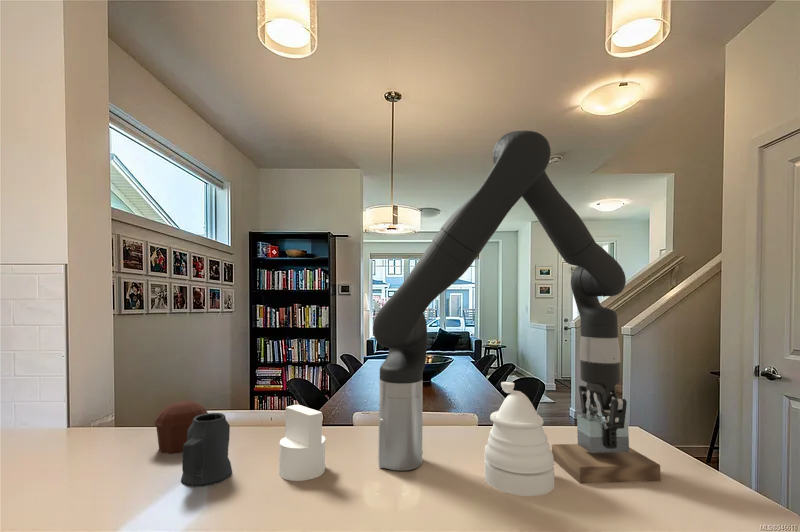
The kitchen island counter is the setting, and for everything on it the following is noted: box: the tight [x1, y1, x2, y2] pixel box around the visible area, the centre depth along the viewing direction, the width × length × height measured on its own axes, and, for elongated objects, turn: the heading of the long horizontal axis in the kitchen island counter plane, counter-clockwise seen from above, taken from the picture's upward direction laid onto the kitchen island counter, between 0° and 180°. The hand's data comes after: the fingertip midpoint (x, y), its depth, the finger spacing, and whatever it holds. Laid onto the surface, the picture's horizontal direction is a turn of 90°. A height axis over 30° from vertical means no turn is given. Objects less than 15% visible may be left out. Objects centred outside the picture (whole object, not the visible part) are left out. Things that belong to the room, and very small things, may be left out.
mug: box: [180, 412, 233, 488], centre depth 79 cm, size 12×9×11 cm
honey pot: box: [483, 381, 555, 497], centre depth 80 cm, size 13×13×18 cm
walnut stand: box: [551, 443, 662, 484], centre depth 84 cm, size 16×12×3 cm
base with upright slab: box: [278, 404, 326, 482], centre depth 83 cm, size 9×9×12 cm
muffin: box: [153, 400, 208, 455], centre depth 96 cm, size 12×11×10 cm
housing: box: [576, 414, 630, 453], centre depth 84 cm, size 5×8×6 cm, turn 94°
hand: (602, 442), depth 84 cm, fingers closed on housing, 5 cm apart
